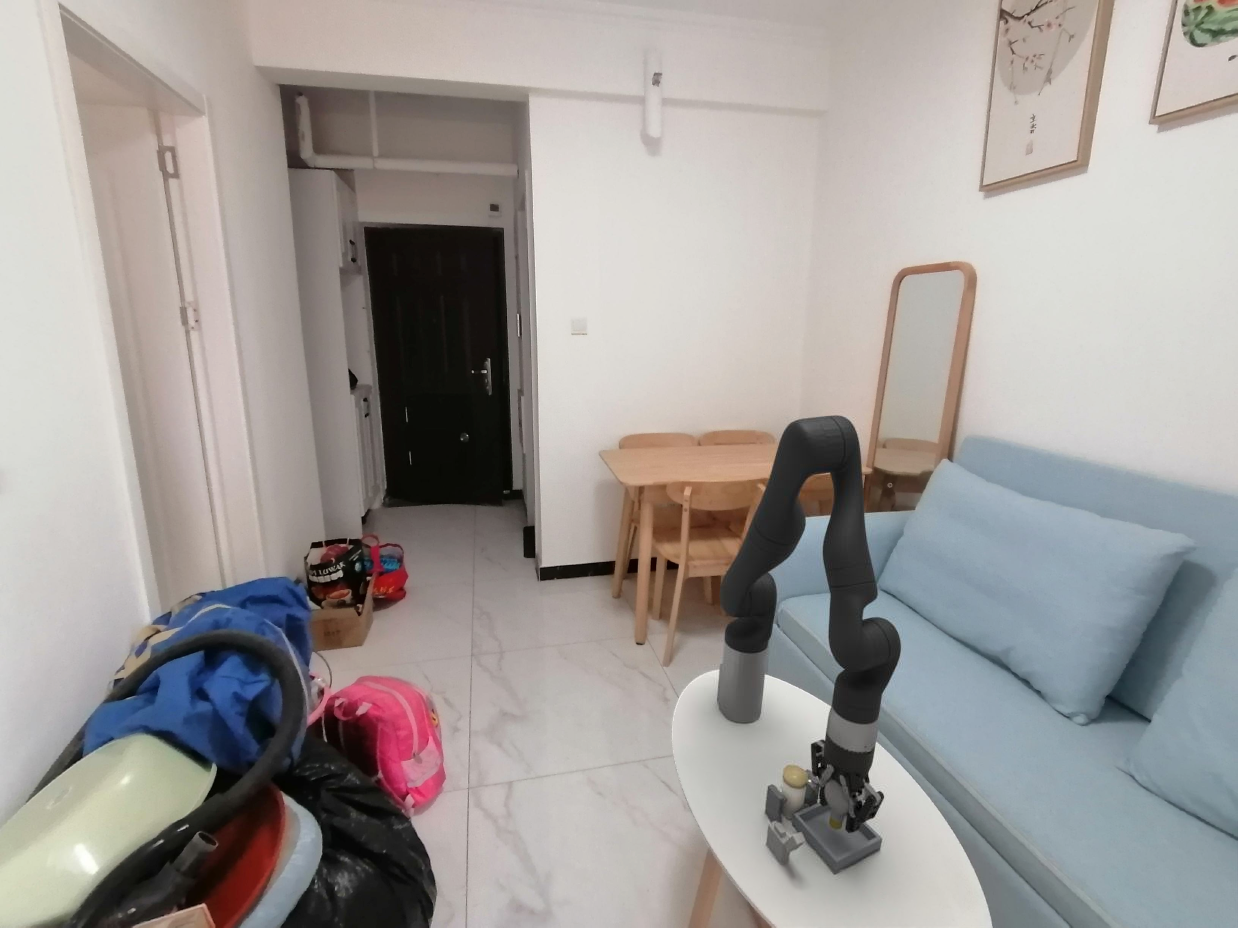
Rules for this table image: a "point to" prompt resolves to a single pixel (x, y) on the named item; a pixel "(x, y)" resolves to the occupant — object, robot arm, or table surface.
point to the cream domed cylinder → (793, 789)
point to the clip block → (777, 799)
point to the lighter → (782, 841)
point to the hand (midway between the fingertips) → (838, 816)
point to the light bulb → (836, 803)
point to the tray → (835, 838)
